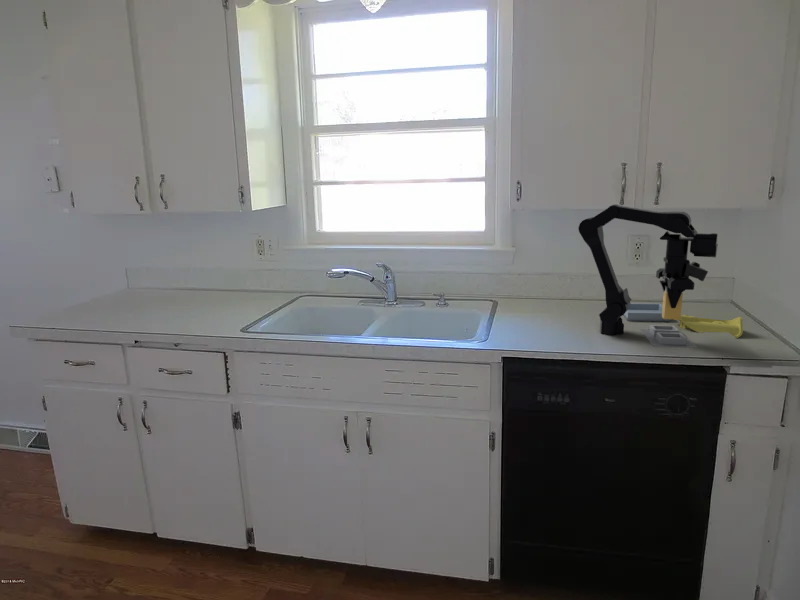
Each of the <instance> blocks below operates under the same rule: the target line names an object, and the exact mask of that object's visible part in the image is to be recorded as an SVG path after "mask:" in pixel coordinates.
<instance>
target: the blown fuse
mask: <svg viewBox="0 0 800 600" xmlns="http://www.w3.org/2000/svg"><path fill="white" fill-rule="evenodd" d="M662 297H663V299H662V306H663V307H662V317H663V319H670V320H674V319H676V320H675V321H678V320H680V317H681V315H682V306H683V292H682V294H681V296H680V298H679V300H678V303H677V305H676V308H671V306H670V302H669V299H668V295H667V292H666V289H665V291H664V292H663V296H662Z"/></svg>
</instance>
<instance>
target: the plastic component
mask: <svg viewBox="0 0 800 600" xmlns="http://www.w3.org/2000/svg"><path fill="white" fill-rule="evenodd" d="M673 320H675V321H678V322H679V327H680V328H681V329H684V330H685V329H688V330H690V329H691V330H692V331H694V332H696V333H729V334H730V335H731V336H732V337H734V338H735V339H738V338H740V337H741V336H742V335H743V333H744V332H743V331H744V327H743V325H744V323H743V317H741V316H738V317H735V318H733V319H730V320H729V319H728V320H725V319H715V318H705V317H704V318H703V317H697V316H694V315H688V314H683V315H682V314H681V317H680V320H676V319H673Z"/></svg>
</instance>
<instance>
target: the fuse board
mask: <svg viewBox="0 0 800 600" xmlns="http://www.w3.org/2000/svg"><path fill="white" fill-rule="evenodd" d="M639 329H640V331H641V332H642V333H643V334H644V336H645V337H646V338H647V340H648V341H649V342H650V344H651V345H652V347H661V348H662V347H663V348H666V347H667V348H689V349H690V348H691V349H692V348H694V349H696V348H698V347H697V345H696V344H695V343H694V342H692V340H690V338H689V337H688V336H686V335H685V333H683V332H682V331H681V329H678V328H677V327H676V326H675V325H663V324H662V325H661V324H660V325H659V324H658V325H657V324H656V325H655V324H650V325H649V328H639Z"/></svg>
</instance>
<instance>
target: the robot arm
mask: <svg viewBox="0 0 800 600" xmlns="http://www.w3.org/2000/svg"><path fill="white" fill-rule="evenodd" d="M615 219H618V220H623V221H624V220H625V221H629V222H635V223H641V224H647V225H653V226H655V227H658V228H660V229H663V230H664V231H666V232H664V234H663V235H661V236H660V237H659V240H661V241H664V240H665V241H666V249H665V256H664V257H663V262H664V267H663V268H662V267H660V268H659V269H657V270H656V273H655V275H656V276H655V277H656V278H657V279H661V278H662V280H659V284H660V286H661V289H662V292H663V293H664V291H665V289H666V292H667V295H668V299H669V302H670V306H671V308H676V305H677V303H678V300H679V298H680V296H681V294H682V293H683V292H685V291H686V290H687V291H690V290H691V291H693V290H694V289H695V282H694V281H693V280H692V279H691V278H690V277H692V278H694V279H698V281H701V282H704V280H705V279H706V277H707V274H708V273H709V271H708V270H706V269H704V268H702V267H701V265H700V263H699V262H696V261H692V262H691V263H690V260H689V259H688V253H690V254H692V255H693V257H701V258H717V254H718V253H717V252H718V245H719V244H718V233H716V232H711V233H699V232H698V231H697V230H696V229H695V227H694V225H693V224H692V217H691V215H690V214H689V213H688V212H685V211H652V210H647V209H640V208H635V207H630V206H624V205H619V204H617V203H616V204H611V205H609V206H608V207H607V208H606V209H604V210H602V211H601V212H599V213H598V214H597V215H595V216H592V217H588V218H585V219H583V220H581V221H580V222H579V225H578V227H577V228H578V233H579V235H580V236H581V237H582V240H583V241H584V243H585V244H586V245H587V246H588V247H589V249H590V251H591V254H592V257H593V259H594V262H595V265H596V268H597V270H598V273H599V276H600V280H601V282H602V284H603V287H604V292H605V304H606V307H605V308H604V309H603V310H602V311H601V312H600V313H599V314H598V315H599V318H600V319H599V333H600V334H601V335H604V336H605V335H606V336H620V335H624V333H625V332H624V331H625V329H624V328H625V323H624V322H623V318H622V317H623V315H624V314H625V313H626V311H627V310H628V309H629V307H630V303H631V301H632V298H631V297H630V295H629V290H628V288H624V289H623V288H622V287H621V286H620V284H619V282H618V281H619V280H618V278H617V276H616V273H615V270H614V268H613V265H612V262H611V259H610V256H609V254H608V252H607V251H608V250H607V248H606V245H605V241H604V240H605V239H604V238H605V236H604V229H603V227H604V226H605V225H607V224H609V223H610V222H611V221H613V220H615ZM670 232H671V233H670ZM682 236H684V237H682ZM689 242H690V244H689ZM689 245H690V246H689ZM688 250H689V252H688Z"/></svg>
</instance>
